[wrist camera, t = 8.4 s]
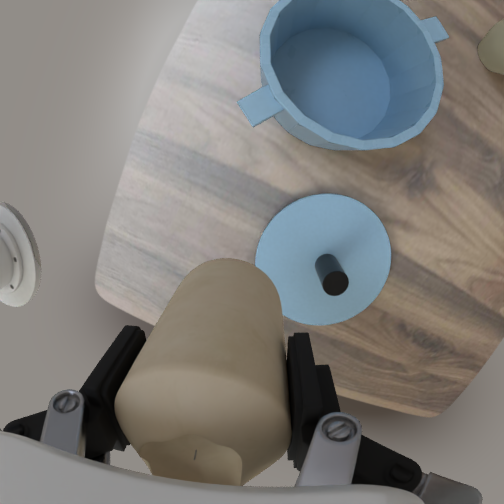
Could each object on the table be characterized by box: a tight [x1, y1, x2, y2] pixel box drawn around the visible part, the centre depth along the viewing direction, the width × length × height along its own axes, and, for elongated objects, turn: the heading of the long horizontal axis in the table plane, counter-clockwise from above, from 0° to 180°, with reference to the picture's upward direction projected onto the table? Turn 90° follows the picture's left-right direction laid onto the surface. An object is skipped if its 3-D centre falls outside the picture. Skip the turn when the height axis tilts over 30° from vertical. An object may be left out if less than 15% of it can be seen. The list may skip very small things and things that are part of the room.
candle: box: [114, 258, 292, 486], centre depth 11 cm, size 6×6×10 cm
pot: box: [237, 0, 449, 150], centre depth 25 cm, size 16×21×12 cm
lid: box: [255, 193, 391, 325], centre depth 34 cm, size 17×17×7 cm
